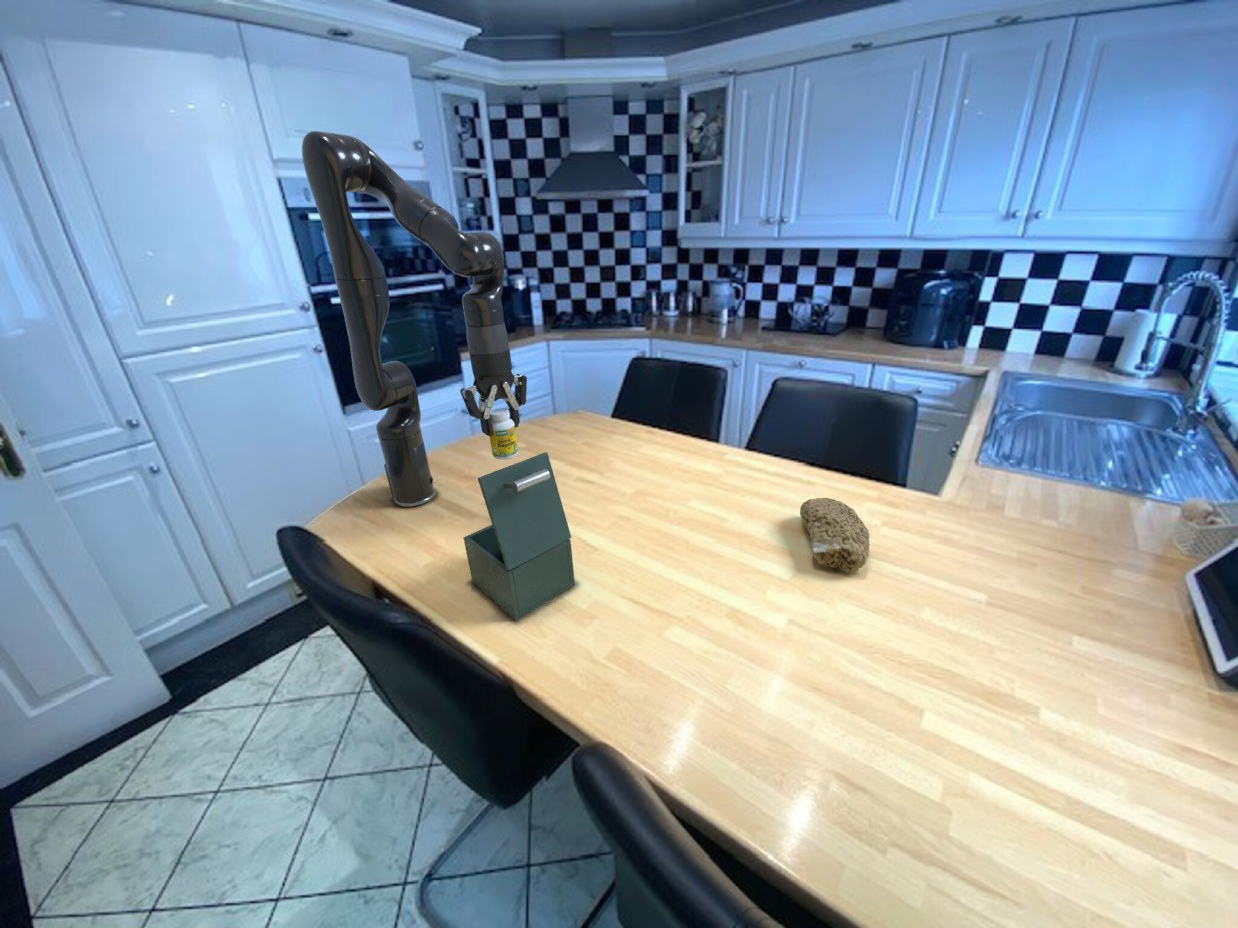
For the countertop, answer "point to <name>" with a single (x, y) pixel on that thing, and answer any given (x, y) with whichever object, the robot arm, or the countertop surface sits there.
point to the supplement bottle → (503, 435)
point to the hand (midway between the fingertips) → (501, 430)
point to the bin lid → (525, 509)
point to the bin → (518, 573)
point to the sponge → (836, 534)
